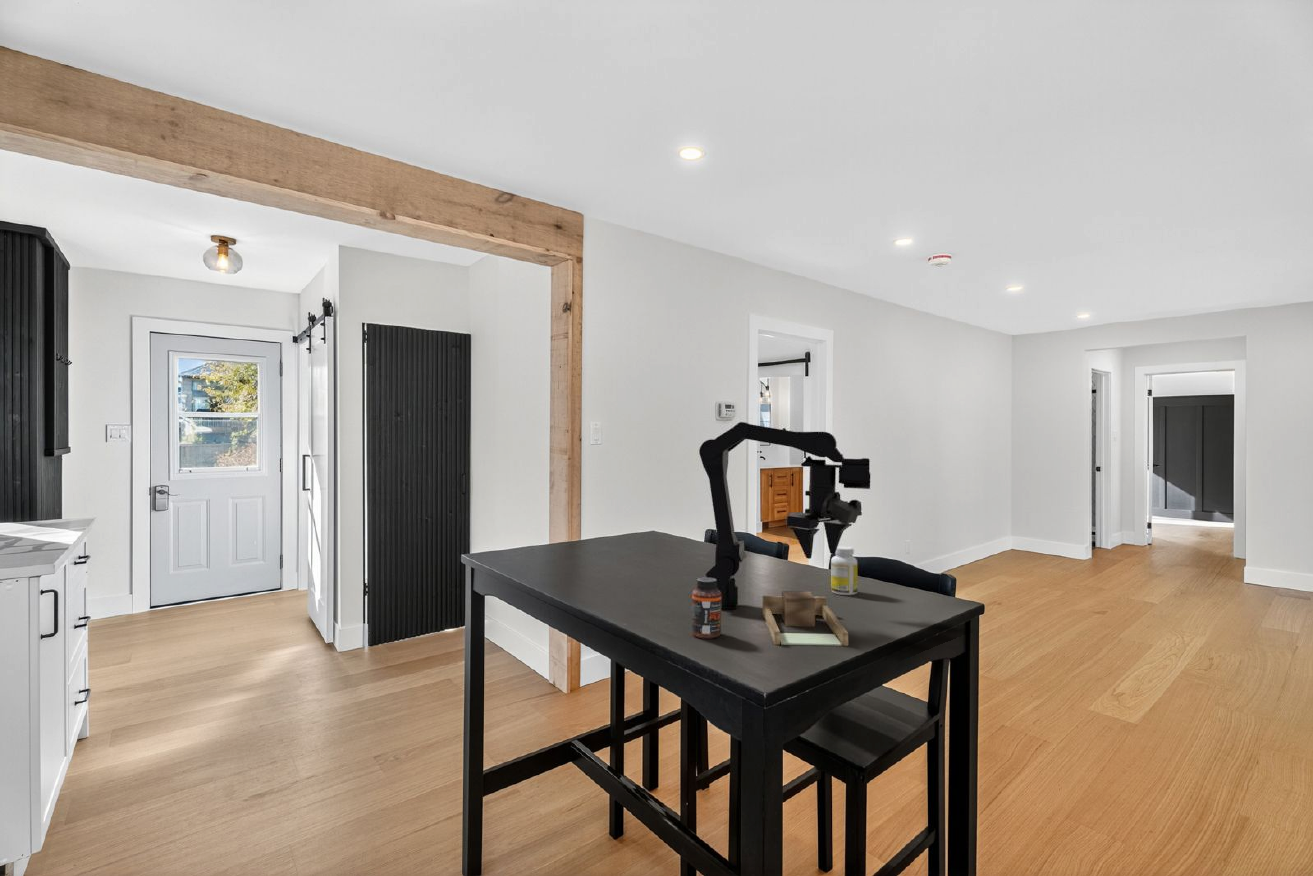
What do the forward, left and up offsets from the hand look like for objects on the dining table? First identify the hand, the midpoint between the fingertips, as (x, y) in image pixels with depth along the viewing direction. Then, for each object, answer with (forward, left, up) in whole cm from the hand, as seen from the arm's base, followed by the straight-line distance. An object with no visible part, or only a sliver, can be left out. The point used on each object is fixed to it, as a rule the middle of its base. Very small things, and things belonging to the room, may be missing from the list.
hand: (820, 556), depth 140 cm
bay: (-6, -11, -13) cm, 18 cm away
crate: (-6, -6, -13) cm, 16 cm away
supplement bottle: (-26, -16, -13) cm, 34 cm away
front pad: (-6, -18, -13) cm, 23 cm away
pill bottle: (+10, +20, -13) cm, 26 cm away
